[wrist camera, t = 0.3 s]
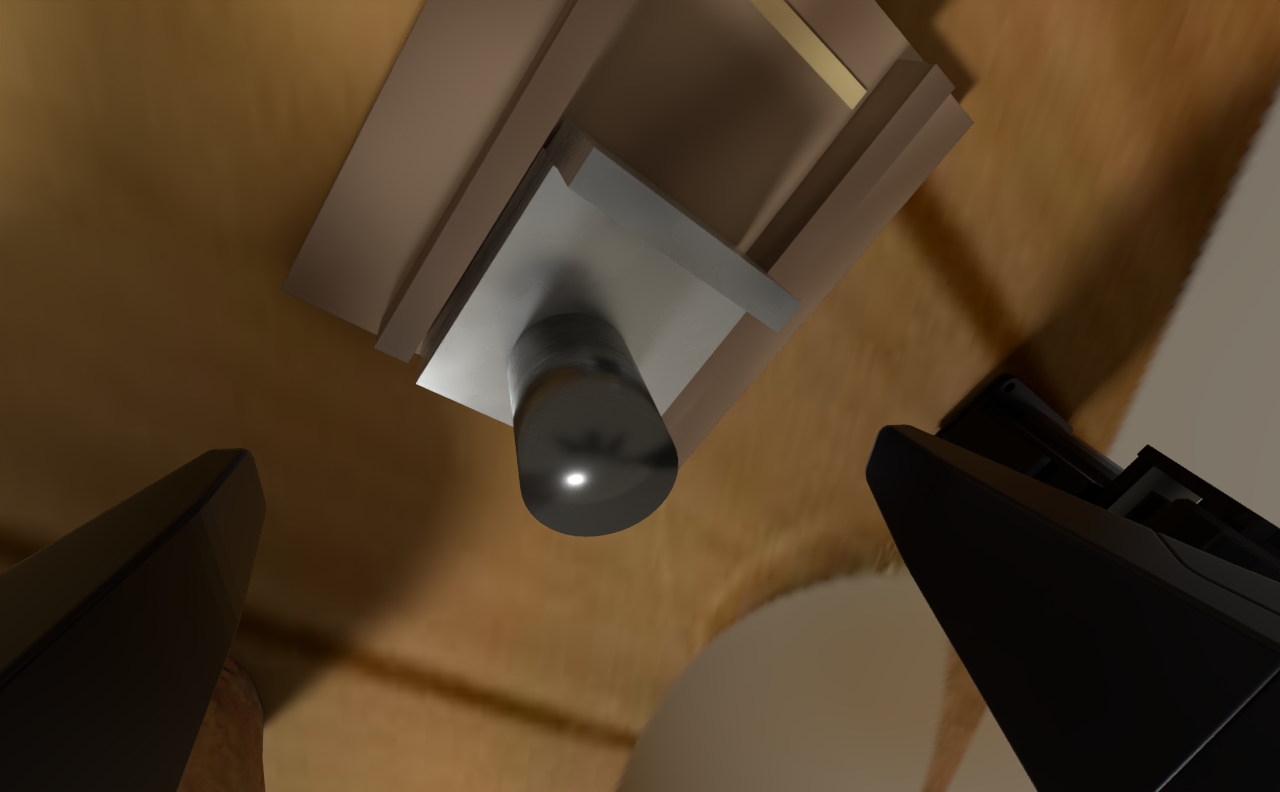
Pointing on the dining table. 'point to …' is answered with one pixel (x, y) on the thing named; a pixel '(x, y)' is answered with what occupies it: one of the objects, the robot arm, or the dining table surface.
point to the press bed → (634, 151)
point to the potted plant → (228, 739)
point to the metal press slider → (592, 331)
